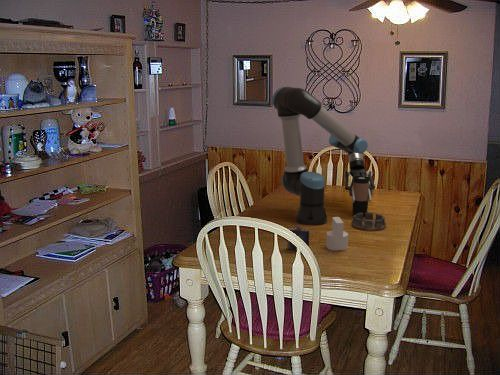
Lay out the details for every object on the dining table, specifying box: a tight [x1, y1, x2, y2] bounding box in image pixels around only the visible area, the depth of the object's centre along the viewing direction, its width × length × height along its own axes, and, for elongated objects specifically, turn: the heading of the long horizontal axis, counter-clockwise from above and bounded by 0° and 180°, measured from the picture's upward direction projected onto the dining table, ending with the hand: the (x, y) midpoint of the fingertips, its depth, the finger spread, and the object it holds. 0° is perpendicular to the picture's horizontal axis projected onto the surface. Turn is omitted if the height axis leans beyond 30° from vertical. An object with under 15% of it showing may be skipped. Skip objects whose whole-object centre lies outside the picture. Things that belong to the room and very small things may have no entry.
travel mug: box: [352, 175, 370, 218], centre depth 276 cm, size 8×8×20 cm
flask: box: [286, 224, 310, 251], centre depth 229 cm, size 9×3×11 cm, turn 72°
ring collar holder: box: [351, 212, 387, 232], centre depth 262 cm, size 16×16×4 cm
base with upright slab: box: [325, 216, 349, 251], centre depth 232 cm, size 9×9×12 cm
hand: (362, 201), depth 273 cm, fingers closed on travel mug, 7 cm apart
